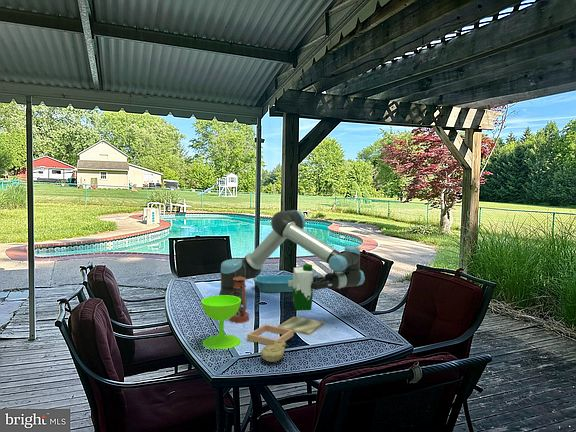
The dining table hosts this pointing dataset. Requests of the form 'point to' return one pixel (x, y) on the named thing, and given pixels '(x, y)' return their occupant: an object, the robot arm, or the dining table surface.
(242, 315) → the lantern
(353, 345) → the dining table surface
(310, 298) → the green white milk carton
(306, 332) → the board
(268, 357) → the oil lamp
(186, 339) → the dining table surface
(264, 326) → the holder
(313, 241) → the robot arm
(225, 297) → the wineglass
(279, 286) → the casserole dish
